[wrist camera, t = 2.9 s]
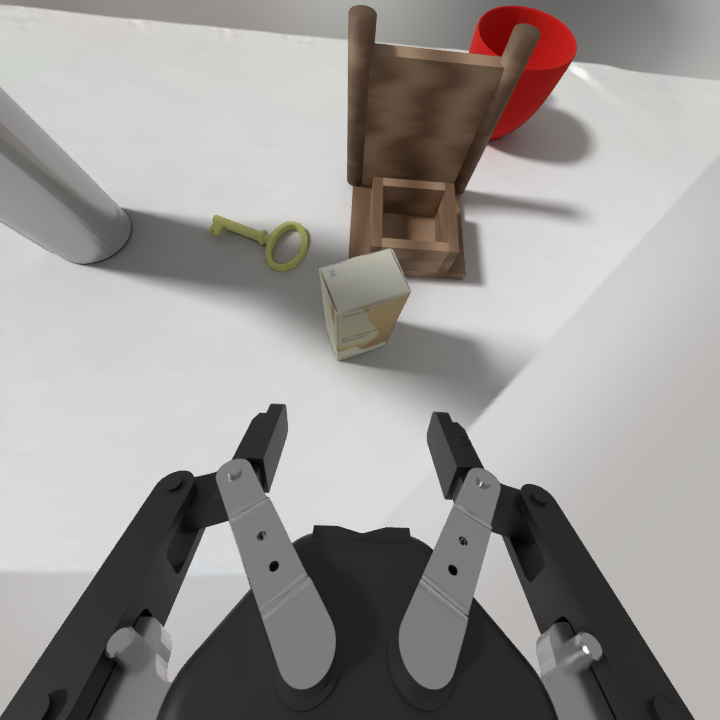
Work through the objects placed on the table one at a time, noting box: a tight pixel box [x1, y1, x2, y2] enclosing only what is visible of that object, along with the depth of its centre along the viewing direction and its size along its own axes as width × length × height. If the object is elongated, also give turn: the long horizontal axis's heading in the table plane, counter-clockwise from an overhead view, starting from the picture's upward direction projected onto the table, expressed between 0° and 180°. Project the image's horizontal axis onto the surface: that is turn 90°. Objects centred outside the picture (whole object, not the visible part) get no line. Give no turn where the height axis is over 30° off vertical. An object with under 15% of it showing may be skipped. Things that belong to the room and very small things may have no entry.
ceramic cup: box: [469, 6, 577, 140], centre depth 38 cm, size 13×17×10 cm
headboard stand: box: [347, 5, 541, 279], centre depth 28 cm, size 17×15×16 cm
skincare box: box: [319, 248, 411, 361], centre depth 25 cm, size 6×4×12 cm
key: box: [209, 215, 309, 272], centre depth 33 cm, size 7×12×2 cm, turn 90°
